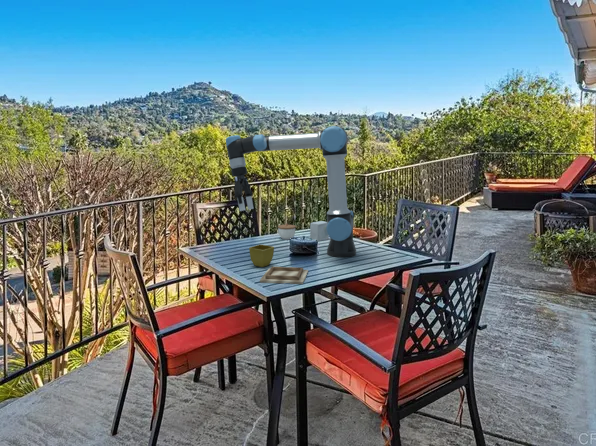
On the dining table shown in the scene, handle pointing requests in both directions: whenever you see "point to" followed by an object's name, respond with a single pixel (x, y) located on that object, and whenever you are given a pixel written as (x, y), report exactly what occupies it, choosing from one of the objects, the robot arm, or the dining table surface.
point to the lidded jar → (286, 231)
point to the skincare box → (318, 230)
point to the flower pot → (261, 255)
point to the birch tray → (284, 275)
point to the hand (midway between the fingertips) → (246, 209)
